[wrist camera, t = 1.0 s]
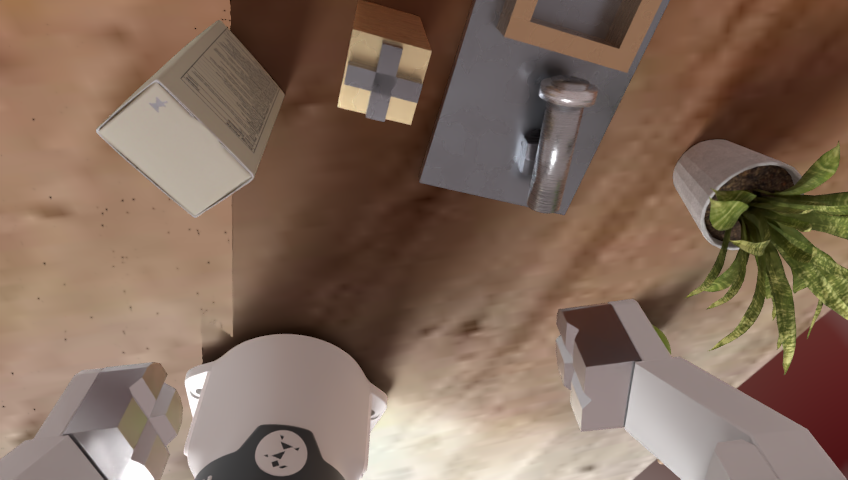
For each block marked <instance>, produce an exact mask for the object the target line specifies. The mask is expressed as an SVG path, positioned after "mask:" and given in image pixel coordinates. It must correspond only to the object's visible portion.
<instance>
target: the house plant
mask: <svg viewBox="0 0 848 480" xmlns="http://www.w3.org/2000/svg"><path fill="white" fill-rule="evenodd" d="M839 160H840V145H839V142H838V144H837V146H836V147H835V148H833V149H831V150H830V151H828V152H826V153H825V154H823V155H822V156H821V157H820V158H819V159H818V160H817V161H816V162H815V163H814V164H813V165H812V166H811V167H810V168H809V169H808V171H807V172H806V173H805V174H804V175H803V176H802V177H801V175H800V174H799V173H798V171H797V170H796V169H795V168H794V167H792V166H790V165H788V164H786V163H784V162H781V161H779V160H776V159H773V158H771V157H768V156H766V155H763V154H761V153H758V152H755V151H753V150H750V149H748V148H745V147H743V146H740V145H737V144H735V143H732V142H730V141H727V140H722V139H715V140H707V141H703V142H699V143H698V144H696V145H694V146H692V147H691V148H690V149H689V150H687V151H686V152H685V153H684V154H683V155H682V157H681V158H680V159H679V161H678V162H677V164H676V166H675V169H674V173H673V183H674V186H675V188H676V190H677V191H678V193H679V195H680V197H681V198H682V200H683V202H684V203H685V205H686V207H687V208H688V210H689V212H690V214H691V215H692V217H693V219H694V220H695V222H696V224H697V226H698V227H699V229H700V231H701V232H702V234H703V236H704V237H705V239H706V240H707V241H708V242H710V243H711V244H712V245H714V246H716V247H719V248H721V250H720V252H719V255H718V257H717V260H716V262H715V264H714V266H713V268H712V270H711V271H710V273H709V274H708V276H707V278H706V279H705V281H704V282H703V283H702V285H701V286H700V287H698V288H697V289H695V290H694V291H692V292H691V293H690V294H689V295H688V296H687V297H686V298H688V297H690V296H693V295H696V294H698V293H700V292H702V291H709V292H715V291H720V290H723V289H726V288H728V287H729V286H730V285H732V286H731V287H730V289H729V290H728V292H727V293H726V294H725V296H724V297H723V298H721V299H720V300H718V301H716V302H715V303H713V304H712V305H711V306H710V307H708V308H707V309H710V308H713V307H716V306H719V305H721V304H723V303H725V302H727V301H729V300H730V299H731V298H733V297H734V296H735V295H736V294H737V292H738V291H739V289H740V288H741V286H742V283H743V281H744V277H745V273H746V265H747V262H748V258H749V254H752V255H755V258H756V262H757V266H758V276H757V284H756V290H755V293H754V296H753V300H752V302H751V304H750V306H749V308H748V309H747V311H746V313H745V315H744V316H743V318H742V320H741V321H740V323H739V325H738V326H737V327H736V328H735V330H734V331H733V332H732V333H730V334H729V335H728V336H726V337H725V338H724V339H722V340H721V341H719V342H718V343H717V344H716V345H715V346H714V347H713V348H712V349H711V350H714V349H716V348H718V347H721V346H723V345H725V344H727V343H729V342H731V341H733V340H735V339H736V338H738V337H739V336H741V335H742V334H744V333H745V332H746V331H747V330H748V329H749V328H750V327H751V326H752V325H753V324H754V322H755V320H756V319H757V317H758V315H759V314H760V312H761V309H762V307H763V304H764V299H765V297H766V298H767V299H768V298H772V301H773V311H772V316H773V320H774V318H775V317H776V316H777V325H778V330H779V338H778V342H777V348H779V347H780V346H781V344H782V345H783V350H784V356H783V367H784V371H785V373H786V372H787V370H788V368H789V365H790V363H791V361H792V358H793V354H794V350H795V344H796V323H795V312H794V302H793V296H792V290H791V288H790V285H789V283H788V281H787V278H786V276H785V272H784V269H783V265H782V262H781V259H780V257H779V254H778V251H779V253H780V254H781V256H782V257H783V258H784V260H785V261H786V262H787V263H788V265H789V266H790V267H791V270H792V274H793V292H794V293H796V292H797V291H799V290H801V289H804V288H806V287H808V288H809V289H810V290H811V291H812V293H813V294H814V295H815V296H816V297H817V298H818V299H819V302H818V305H817V308H816V312H815V314H814V317H813V320H812V323H811V326H810V329H809V333H808V336H809V334H810V331H811V329H812V327H813V325H814V322H815V321H816V319H817V317H818V315H819V313H820V311H821V308H822V306H823V303H824V304H825V305H826V306H828V307H829V308H831V309H832V310H834V311H836V312H837V313H838V314H840V315H841V316H842V317H844V318H845V319H847V320H848V269H846V268H844V267H842V266H840V265H838V264H836V262H835V261H834V260H833V259H832V258H831V257H830V256H829V255H828V254H826V253H825V252H823V251H821V250H820V249H818V248H816V247H815V246H814V245H813V244H812V243H811V242H810V241H808V240H807V239H806V238H805V237H804V236H803V235H802V234H801V233H800V232H807V231H810V232H811V230H816V231H821V232H826V233H829V234H832V235H835V236H838V237H841V238H844V239H848V192H841V193H833V194H825V195H816V196H812V195H804V193H806V192H808V191H811V190H813V189H814V188H816V187H818V186H819V185H821V184H822V183H824V182H825V181H827V180H828V179H829V178H830V177H831V176H832V175H833V174H835V172H836V170H837V168H838V166H839ZM830 215H833V216H830ZM796 229H798V230H799V231H800V232H799V231H798V230H796ZM727 249H728V250H739V251H738V253H737V256H736V259H735V260H734V262H733V263H732V265H731V266H730V268H729V269H728V270H726V271H725V272H724V273H723V274H722V275H720V276H719V277H718V275H719V273H720V271H721V269H722V267H723V265H724V260H725V256H726V252H727ZM777 250H778V251H777ZM717 277H718V278H717ZM683 299H684V298H683ZM807 338H808V337H807ZM709 351H710V350H709ZM784 375H785V374H784Z"/></svg>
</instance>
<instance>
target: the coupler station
mask: <svg viewBox="0 0 848 480" xmlns="http://www.w3.org/2000/svg"><path fill="white" fill-rule="evenodd" d="M669 1H670V0H473V1H472V4H471V7H470V11H469V14H468V17H467V20H466V24H465V27H464V30H463V33H462V37H461V40H460V43H459V47H458V50H457V53H456V56H455V60H454V63H453V66H452V69H451V73H450V76H449V79H448V82H447V86H446V89H445V92H444V95H443V99H442V102H441V105H440V108H439V112H438V115H437V118H436V121H435V125H434V128H433V131H432V134H431V138H430V141H429V144H428V147H427V151H426V154H425V157H424V160H423V164H422V167H421V170H420V173H419V183H423V184H428V185H432V186H436V187H441V188H445V189H450V190H454V191H459V192H463V193H468V194H472V195H477V196H481V197H486V198H490V199H495V200H499V201H504V202H508V203H513V204H517V205H521V206H526V207H528V205H527V198H528V193H529V188H530V183H531V178H532V175H522V173H521V172H520V170H519V168H518V165H519V159H520V154H521V148H522V143H523V137H524V136H526V137H540V133H541V128H542V123H543V118H544V113H545V108H546V103H547V101H545V100H543V99H542V98H540V97H539V90H540V85H541V81H542V80H543V79H546V78H552V77H554V76H559V75H565V76H574V77H578V78H582V79H585V80H587V81H588V82H589V83H591V84H593V85H595V86H596V87H597V88H598V94H597V98H596V102H595V104H594V105H592V106H589V107H584V110H583V114H582V119H581V123H580V127H579V131H578V135H577V139H576V143H575V148H574V152H573V156H572V160H571V164H570V168H569V172H568V177H567V181H566V185H565V189H564V193H563V197H562V201H561V206H560V209H559V211H557V212H555V213H557V214H562V215H565V213H566V211H567V209H568V207H569V205H570V203H571V201H572V199H573V197H574V195H575V193H576V191H577V189H578V187H579V185H580V183H581V180H582V178H583V176H584V174H585V172H586V170H587V168H588V166H589V164H590V162H591V160H592V158H593V156H594V154H595V152H596V150H597V148H598V146H599V144H600V142H601V140H602V138H603V136H604V134H605V132H606V129H607V127H608V125H609V123H610V121H611V119H612V117H613V115H614V113H615V111H616V109H617V107H618V105H619V103H620V101H621V99H622V97H623V95H624V93H625V91H626V89H627V87H628V85H629V83H630V80H631V78H632V76H633V74H634V72H635V70H636V68H637V66H638V64H639V62H640V60H641V58H642V56H643V54H644V52H645V50H646V48H647V46H648V44H649V42H650V40H651V38H652V36H653V34H654V32H655V29H656V27H657V25H658V23H659V21H660V19H661V17H662V15H663V13H664V11H665V9H666V7H667V5H668V3H669Z"/></svg>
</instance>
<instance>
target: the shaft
mask: <svg viewBox="0 0 848 480" xmlns="http://www.w3.org/2000/svg"><path fill="white" fill-rule="evenodd" d="M597 94H598V88H597V87H596V86H595V85H593V84H591V83H589V82H588V81H587V80H585V79H582V78H578V77H574V76H565V75H559V76H554V77H552V78H546V79H543V80H542V81H541V85H540V90H539V97H540V98H542V99H543V100H545V101H547V103H546V108H545V113H544V118H543V123H542V128H541V133H540V137H526V136H524V137H523V143H522V148H521V154H520V159H519V165H518V168H519V170H520V172H521V173H522V175H532V178H531V183H530V188H529V193H528V198H527V205H528V207H529V208H531V209H532V210H534V211H537V212H541V213H555V212H557V211H559V209H560V206H561V201H562V197H563V193H564V189H565V185H566V181H567V177H568V172H569V168H570V164H571V160H572V156H573V152H574V148H575V143H576V139H577V135H578V131H579V127H580V123H581V119H582V114H583V110H584V107H589V106H592V105H594V104H595V102H596V98H597Z"/></svg>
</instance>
